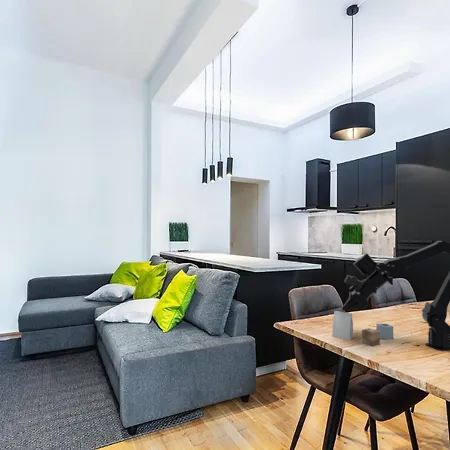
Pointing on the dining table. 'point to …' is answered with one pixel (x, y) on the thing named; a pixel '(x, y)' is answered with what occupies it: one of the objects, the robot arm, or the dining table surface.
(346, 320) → the grey tapered block
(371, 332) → the walnut block
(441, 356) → the dining table surface
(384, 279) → the robot arm
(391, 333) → the slate block
